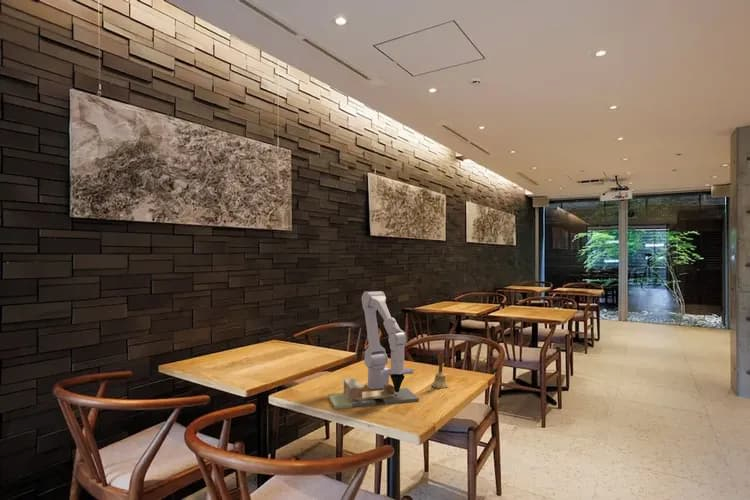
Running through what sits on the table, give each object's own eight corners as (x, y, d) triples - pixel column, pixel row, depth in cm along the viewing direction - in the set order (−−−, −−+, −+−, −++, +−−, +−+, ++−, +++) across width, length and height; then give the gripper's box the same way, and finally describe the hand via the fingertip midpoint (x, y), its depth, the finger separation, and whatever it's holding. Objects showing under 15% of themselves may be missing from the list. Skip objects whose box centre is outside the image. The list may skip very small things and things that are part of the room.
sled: (389, 391, 185) (389, 383, 185) (394, 396, 179) (395, 388, 179) (344, 395, 180) (345, 386, 180) (348, 400, 173) (348, 392, 173)
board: (406, 390, 192) (406, 388, 192) (418, 401, 178) (418, 398, 178) (328, 397, 181) (328, 394, 181) (334, 408, 168) (334, 405, 168)
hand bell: (450, 384, 202) (450, 351, 202) (447, 389, 194) (447, 354, 195) (432, 382, 205) (433, 349, 205) (429, 387, 197) (430, 353, 197)
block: (356, 393, 180) (356, 384, 180) (359, 396, 175) (359, 387, 175) (346, 394, 178) (346, 384, 178) (348, 397, 174) (348, 388, 174)
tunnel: (354, 392, 183) (355, 378, 183) (362, 402, 172) (362, 387, 172) (343, 393, 182) (343, 379, 182) (350, 403, 170) (350, 388, 170)
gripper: (384, 363, 177) (383, 395, 177) (416, 361, 181) (415, 393, 181) (379, 359, 184) (378, 390, 183) (410, 357, 188) (409, 388, 188)
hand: (396, 391), depth 183 cm, fingers closed
